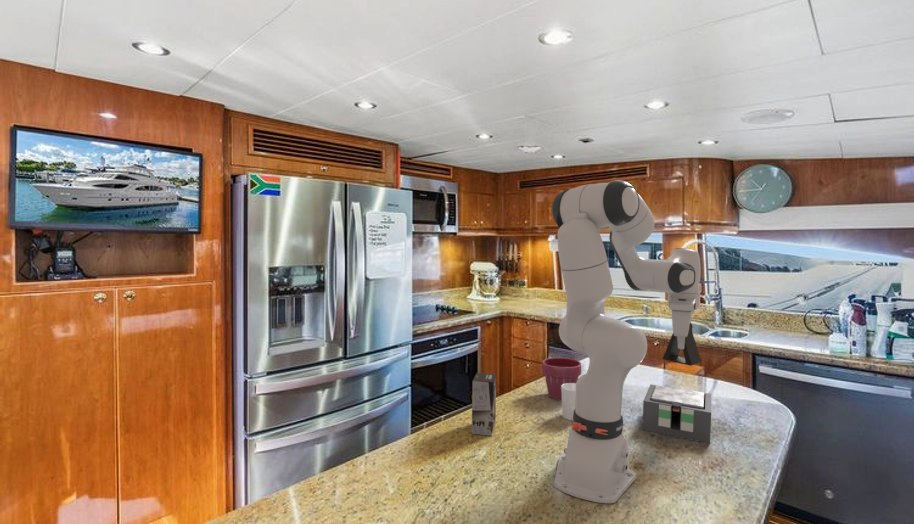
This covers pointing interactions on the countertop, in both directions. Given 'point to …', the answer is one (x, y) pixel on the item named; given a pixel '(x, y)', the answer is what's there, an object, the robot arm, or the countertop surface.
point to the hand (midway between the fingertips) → (681, 345)
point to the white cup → (568, 399)
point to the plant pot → (560, 374)
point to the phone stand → (689, 350)
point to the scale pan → (678, 397)
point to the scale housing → (677, 418)
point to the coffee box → (484, 403)
